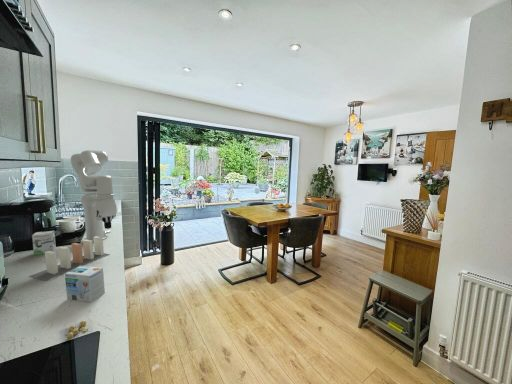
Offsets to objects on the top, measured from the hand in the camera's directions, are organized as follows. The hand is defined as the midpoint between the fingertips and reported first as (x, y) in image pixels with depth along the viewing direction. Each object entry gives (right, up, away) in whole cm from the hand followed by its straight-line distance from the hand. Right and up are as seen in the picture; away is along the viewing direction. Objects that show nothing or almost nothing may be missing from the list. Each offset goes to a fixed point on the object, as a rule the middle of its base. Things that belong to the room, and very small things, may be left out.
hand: (108, 228), depth 126 cm
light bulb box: (+20, -20, -41) cm, 50 cm away
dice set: (+31, -23, -58) cm, 70 cm away
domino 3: (-4, -15, -9) cm, 18 cm away
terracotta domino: (-6, -16, -14) cm, 22 cm away
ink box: (-36, -14, -1) cm, 38 cm away
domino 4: (-3, -14, -4) cm, 15 cm away
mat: (-7, -16, -16) cm, 23 cm away
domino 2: (-8, -16, -19) cm, 26 cm away
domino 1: (-9, -17, -24) cm, 31 cm away
